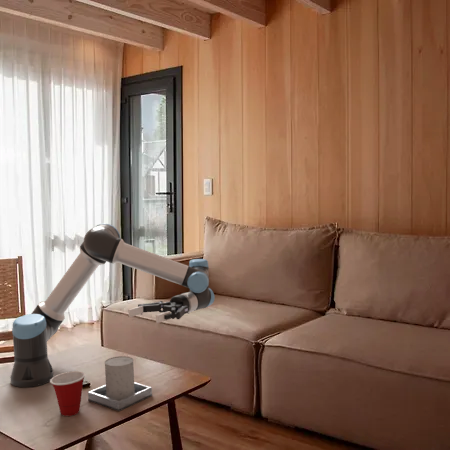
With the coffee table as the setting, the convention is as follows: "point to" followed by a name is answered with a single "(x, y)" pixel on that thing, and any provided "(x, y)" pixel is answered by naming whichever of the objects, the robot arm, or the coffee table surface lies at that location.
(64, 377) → the plastic cup
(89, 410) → the coffee table surface
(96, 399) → the grey square tray
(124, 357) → the speckled white cylinder
